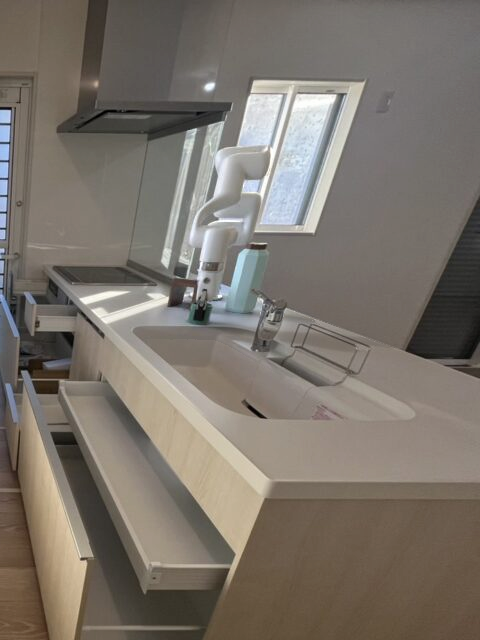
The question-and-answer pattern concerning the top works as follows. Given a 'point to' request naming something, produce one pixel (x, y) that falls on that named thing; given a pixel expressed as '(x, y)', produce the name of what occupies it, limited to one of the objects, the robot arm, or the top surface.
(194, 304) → the pot
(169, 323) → the top surface
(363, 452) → the top surface
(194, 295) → the shelf
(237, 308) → the water bottle
